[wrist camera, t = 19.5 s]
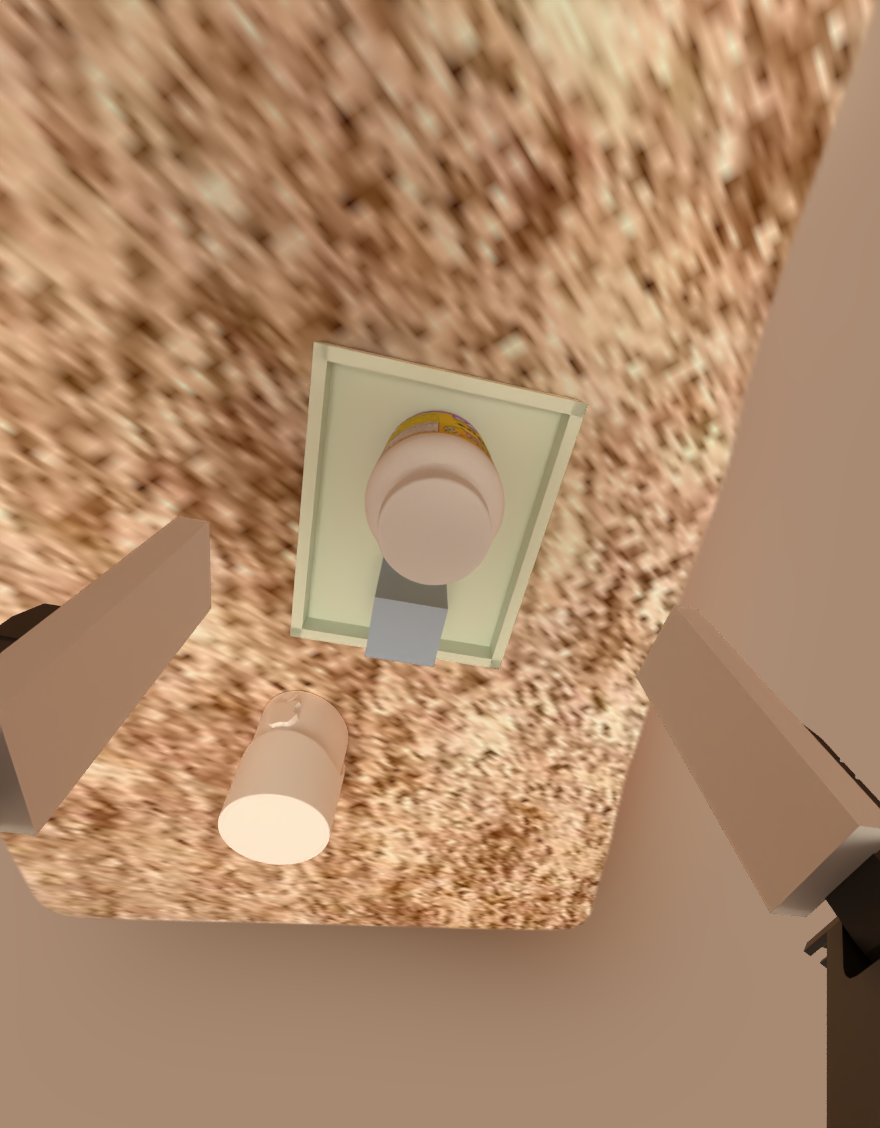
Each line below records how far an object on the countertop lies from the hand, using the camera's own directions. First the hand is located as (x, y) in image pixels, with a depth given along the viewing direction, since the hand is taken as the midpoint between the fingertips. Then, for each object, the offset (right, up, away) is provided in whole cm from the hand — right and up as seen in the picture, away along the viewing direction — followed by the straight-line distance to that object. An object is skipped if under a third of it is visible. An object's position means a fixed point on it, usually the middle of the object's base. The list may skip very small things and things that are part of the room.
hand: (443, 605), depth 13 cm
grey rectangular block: (-2, 0, +21) cm, 21 cm away
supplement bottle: (0, +8, +17) cm, 19 cm away
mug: (-12, -15, +29) cm, 35 cm away
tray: (-1, +4, +19) cm, 20 cm away
